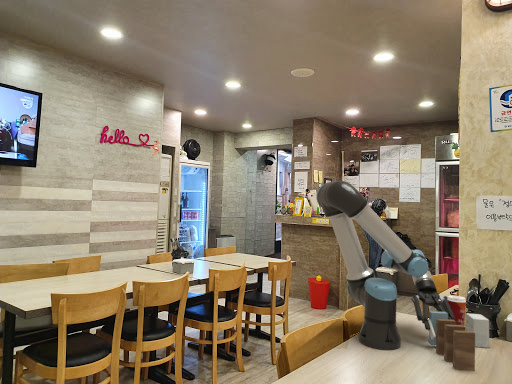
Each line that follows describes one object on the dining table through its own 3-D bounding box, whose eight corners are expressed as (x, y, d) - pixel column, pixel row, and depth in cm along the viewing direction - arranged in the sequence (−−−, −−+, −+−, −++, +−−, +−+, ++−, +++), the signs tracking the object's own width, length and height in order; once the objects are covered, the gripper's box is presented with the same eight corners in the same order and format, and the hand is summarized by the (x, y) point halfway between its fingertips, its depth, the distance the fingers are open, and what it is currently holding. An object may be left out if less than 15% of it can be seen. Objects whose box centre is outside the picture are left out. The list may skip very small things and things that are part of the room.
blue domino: (428, 343, 140) (429, 311, 140) (444, 343, 140) (445, 311, 140) (431, 345, 138) (431, 312, 138) (447, 345, 138) (447, 313, 138)
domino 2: (444, 359, 127) (444, 324, 128) (461, 360, 127) (462, 325, 128) (446, 362, 125) (447, 326, 126) (464, 362, 125) (465, 327, 126)
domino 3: (452, 367, 121) (453, 330, 122) (471, 368, 121) (471, 331, 122) (455, 369, 119) (456, 332, 120) (474, 370, 119) (475, 333, 120)
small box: (489, 348, 139) (489, 320, 140) (473, 346, 140) (473, 318, 141) (481, 340, 147) (481, 314, 147) (465, 339, 148) (466, 312, 149)
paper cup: (465, 334, 154) (466, 300, 155) (445, 330, 159) (445, 297, 159) (466, 328, 161) (467, 296, 162) (446, 325, 165) (447, 293, 166)
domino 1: (435, 352, 133) (436, 319, 134) (452, 353, 133) (453, 319, 134) (438, 354, 131) (439, 320, 132) (455, 355, 131) (456, 321, 132)
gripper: (444, 289, 154) (465, 344, 137) (398, 287, 155) (413, 342, 138) (450, 279, 149) (473, 334, 132) (403, 277, 150) (419, 332, 133)
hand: (442, 338), depth 135 cm, fingers closed on blue domino, 6 cm apart
